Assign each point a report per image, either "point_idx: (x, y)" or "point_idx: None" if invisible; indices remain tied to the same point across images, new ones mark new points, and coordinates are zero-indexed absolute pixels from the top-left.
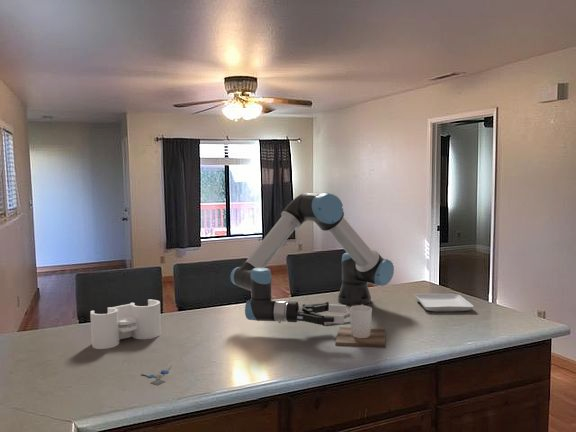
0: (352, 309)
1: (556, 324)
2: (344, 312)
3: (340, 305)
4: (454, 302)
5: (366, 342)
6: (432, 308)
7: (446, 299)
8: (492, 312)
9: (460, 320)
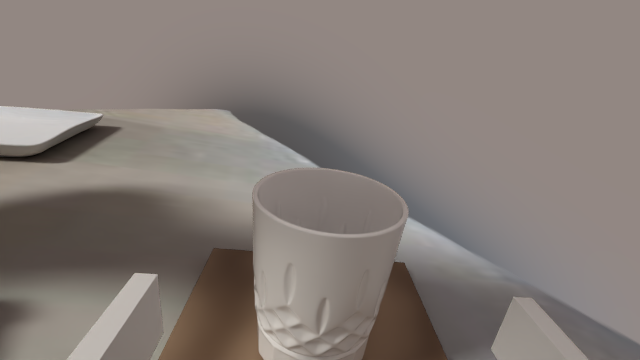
0: (290, 243)
1: (210, 109)
2: (156, 345)
3: (126, 323)
4: (3, 123)
5: (410, 316)
6: (49, 143)
7: None
8: (119, 118)
9: (151, 144)
